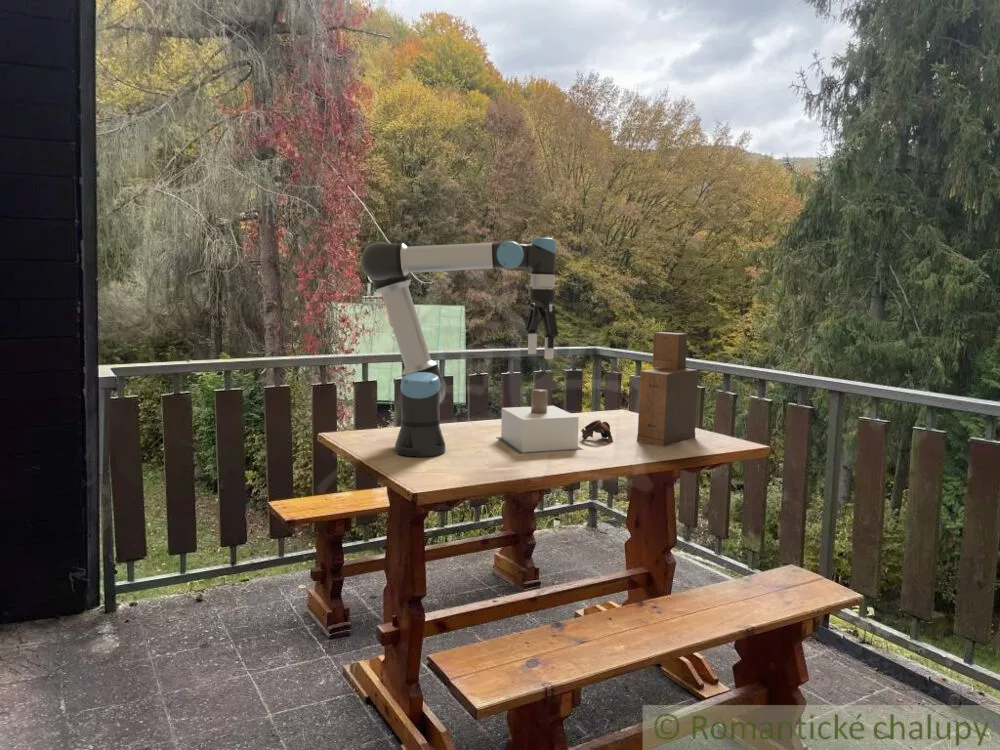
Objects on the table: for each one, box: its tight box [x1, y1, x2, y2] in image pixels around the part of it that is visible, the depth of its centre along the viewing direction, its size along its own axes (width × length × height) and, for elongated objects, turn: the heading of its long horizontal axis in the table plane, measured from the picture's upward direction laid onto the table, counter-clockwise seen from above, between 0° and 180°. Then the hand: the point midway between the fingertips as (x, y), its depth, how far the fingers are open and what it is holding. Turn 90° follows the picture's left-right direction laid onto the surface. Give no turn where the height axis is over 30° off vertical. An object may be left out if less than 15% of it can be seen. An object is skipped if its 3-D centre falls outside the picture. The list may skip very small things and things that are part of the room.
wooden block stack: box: [636, 331, 699, 447], centre depth 243 cm, size 19×14×35 cm
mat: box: [495, 436, 584, 455], centre depth 233 cm, size 21×23×1 cm
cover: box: [500, 388, 579, 452], centre depth 232 cm, size 18×20×17 cm
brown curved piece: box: [580, 419, 614, 444], centre depth 240 cm, size 12×10×8 cm
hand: (540, 356), depth 230 cm, fingers open, 13 cm apart
